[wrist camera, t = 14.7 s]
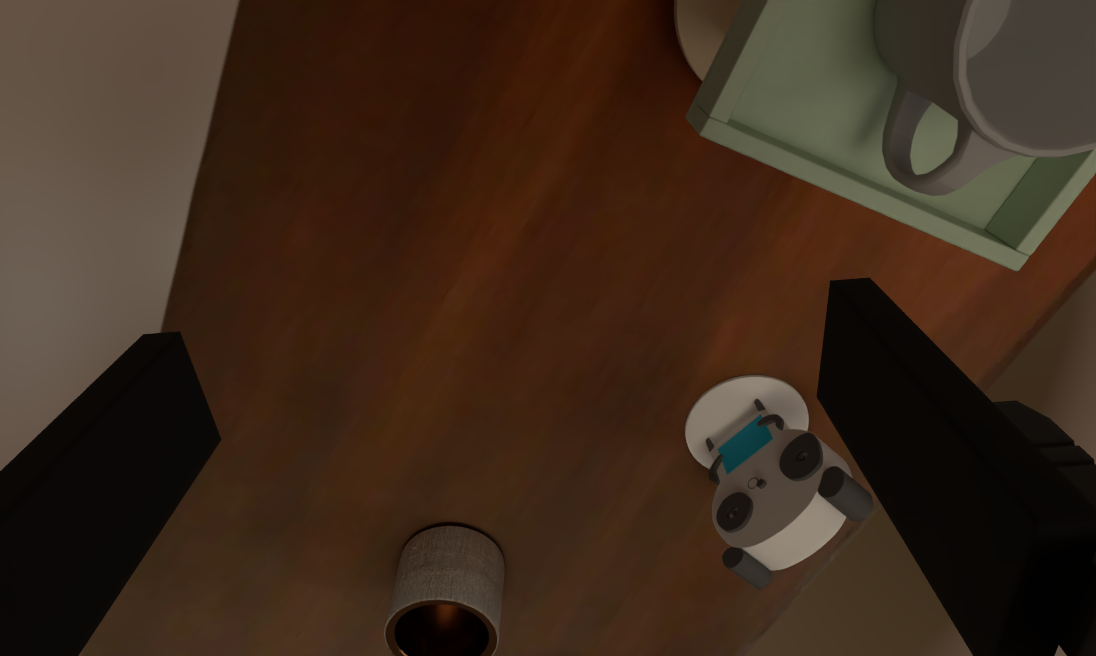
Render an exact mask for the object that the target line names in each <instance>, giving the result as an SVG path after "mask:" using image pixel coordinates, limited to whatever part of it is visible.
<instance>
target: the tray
mask: <svg viewBox="0 0 1096 656" xmlns="http://www.w3.org/2000/svg"><path fill="white" fill-rule="evenodd" d="M876 3H877V0H674V21H675V30H676V34H677V38H678V42H679V45H680V47H681V50H682V53H683V55H684V57H685V59H686V61H687V62H688V64H689V66H690V67H691V69H692V70H693V71H694V73H695V74H696V75H697V77H698V78H699V79H700V80H701V81H702V84H701V86H700V88H699V90H698V92H697V94H696V96H695V98H694V100H693V102H692V104H691V106H690V109H689V111H688V113H687V115H686V117H685V118H686V119H687V121H688V122H689V123H690V124H691V125H692V126H693V128H694V129H695V130H696V131H697V133H698V134H699V135H700V136H701V137H704V138H706V139H708V140H711V141H713V142H715V143H718V144H720V145H722V146H725V147H727V148H729V149H732V150H734V151H736V152H739V153H741V154H743V155H746V156H748V157H750V158H753V159H755V160H757V161H760V162H762V163H764V164H767V165H769V166H771V167H774V168H776V169H778V170H781V171H783V172H785V173H788V174H790V175H792V176H795V177H797V178H799V179H802V180H804V181H806V182H809V183H811V184H813V185H816V186H818V187H820V188H823V189H825V190H827V191H830V192H832V193H834V194H837V195H839V196H841V197H844V198H846V199H848V200H851V201H853V202H855V203H858V204H860V205H862V206H865V207H867V208H869V209H872V210H874V211H876V212H878V213H881V214H883V215H885V216H888V217H890V218H892V219H895V220H897V221H899V222H902V223H904V224H906V225H909V226H911V227H913V228H916V229H918V230H920V231H923V232H925V233H927V234H930V235H932V236H934V237H937V238H939V239H941V240H944V241H946V242H948V243H951V244H953V245H955V246H958V247H960V248H962V249H965V250H967V251H969V252H972V253H974V254H976V255H979V256H981V257H983V258H986V259H988V260H990V261H993V262H995V263H997V264H1000V265H1002V266H1004V267H1007V268H1009V269H1011V270H1014V271H1019V269H1020V268H1021V267H1022V266H1023V264H1024V263H1025V262H1026V261H1027V259H1028V258H1029V256H1028V255H1031V254H1032V253H1033V252H1034V250H1035V249H1036V248H1037V247H1038V245H1039V244H1040V243H1041V241H1042V240H1043V239H1044V238H1045V236H1046V235H1047V234H1048V233H1049V231H1050V230H1051V229H1052V228H1053V226H1054V225H1055V224H1056V223H1057V221H1058V220H1059V219H1060V217H1061V216H1062V215H1063V214H1064V212H1065V211H1066V210H1067V209H1068V207H1069V206H1070V205H1071V204H1072V202H1073V201H1074V200H1075V199H1076V197H1077V196H1078V195H1079V193H1080V192H1081V191H1082V190H1083V188H1084V187H1085V186H1086V185H1087V183H1088V182H1089V181H1090V180H1091V178H1092V177H1093V176H1094V175H1095V173H1096V149H1093V150H1089V151H1085V152H1080V153H1076V154H1072V155H1067V156H1063V157H1059V158H1050V157H1025V156H1022V155H1018V156H1015V157H1013V158H1010V159H1007V160H1005V161H1002V162H1000V163H998V164H996V165H994V166H992V167H991V168H989V169H987V170H985V171H983V172H981V173H980V174H979V175H977V176H976V177H975V178H974V179H973V180H972V181H970V182H969V183H967V184H966V185H964V186H963V187H961V188H960V189H958V190H956V191H953V192H951V193H949V194H947V195H938V196H930V195H926V194H923V193H919V192H915V191H913V190H911V189H909V188H907V187H905V186H904V185H902V184H901V183H899V182H897V181H896V180H895V179H893V177H892V176H891V174H890V173H889V171H888V170H887V168H886V166H885V162H884V157H883V153H882V140H883V131H884V127H885V123H886V119H887V115H888V112H889V108H890V105H891V102H892V99H893V96H894V93H895V89H896V86H897V75H896V72H895V71H893V70H892V69H891V68H890V67H889V66H888V64H887V63H886V61H885V60H884V59H883V57H882V56H881V54H880V53H879V49H878V46H877V43H876V40H875V36H874V13H875V8H876ZM957 128H958V120H957V119H955V118H954V117H953V116H951V115H950V114H948V113H947V112H945V111H944V110H943V109H941V108H940V107H939V106H937V105H936V104H934V103H932V104H931V105H930V107H929V108H928V109H927V110H926V111H925V113H924V115H923V116H922V118H921V120H920V122H919V123H918V125H917V128H916V131H915V134H914V137H913V140H912V147H911V154H910V158H911V164H912V170H913V171H914V173H915V174H916V175H920V174H926V173H928V172H930V171H932V170H934V169H935V168H937V167H938V166H939V165H941V164H942V163H943V162H944V161H945V160H946V159H947V158H948V157H949V156H950V155H951V154H952V153H953V150H954V146H955V142H956V139H957Z"/></svg>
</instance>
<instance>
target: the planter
mask: <svg viewBox="0 0 1096 656" xmlns="http://www.w3.org/2000/svg"><path fill="white" fill-rule="evenodd" d="M504 572H505V566H504V559H503V555H502V553H501V551H500V549H499V548H498V546H497V545H496V544H495V543H494V542H493V541H492V540H491V539H490V538H488V537H487V536H485V535H484V534H482V533H480V532H478V531H475V530H473V529H470V528H466V527H461V526H438V527H434V528H430V529H427V530H424V531H422V532H420V533H418V534H417V535H415V536H414V537H413V538H412V539H411V540H410V541H409V542H408V543H407V544H406V546H405V548H404V550H403V552H402V554H401V557H400V561H399V566H398V570H397V575H396V580H395V584H394V589H393V594H392V598H391V603H390V607H389V611H388V616H387V620H386V624H385V629H384V638H385V642H386V645H387V647H388V648H389V650H390V651H391V653H392V654H393V655H394V656H493V655H494V653H495V651H496V649H497V647H498V642H499V630H500V617H501V606H502V595H503V584H504Z"/></svg>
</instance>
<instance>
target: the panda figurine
mask: <svg viewBox="0 0 1096 656" xmlns="http://www.w3.org/2000/svg"><path fill="white" fill-rule="evenodd" d="M808 422H809V417H808V410H807V407H806V405H805V402H804V401H803V399H802V397H801V396H800V394H799V393H798V392H797V391H796V390H795V389H794V388H793V387H792V386H790V385H789V384H787V383H786V382H784V381H782V380H780V379H777V378H774V377H770V376H765V375H744V376H738V377H734V378H731V379H728V380H725V381H723V382H721V383H719V384H717V385H715V386H713V387H712V388H710V389H709V390H707V391H706V392H705V393H704V394H703V395H702V396H701V397H700V398H699V399H698V400H697V401H696V402H695V404H694V405H693V406H692V408H691V410H690V412H689V414H688V417H687V420H686V424H685V437H686V442H687V445H688V448H689V450H690V452H691V453H692V455H693V456H694V458H695V459H696V460H697V461H698V462H699V463H701V464H702V465H703V466H705V467H706V468H708V469H710V470H709V478H710V480H712V481H713V482H714V483H716V484H719V486H718V488H717V490H716V492H715V495H714V499H713V504H712V518H713V523H714V526H715V528H716V530H717V532H718V533H719V535H720V536H721V537H722V538H723V539H724V541H725V542H726V543H728V544H729V545H730V546H731V548H729V549H727V550H726V551H725V552H724V554H723V556H722V559H723V563H724V565H725V566H726V567H727V568H729V569H730V570H731V571H733V572H734V573H736V574H737V575H738V576H740V577H741V578H743V579H744V580H745V581H747V582H748V583H750V584H751V585H752V586H754V587H755V588H757V589H762V588H764V587H766V586H767V585H768V584H769V583H770V581H771V579H772V572H771V571H770V570H781V569H785V568H788V567H790V566H792V565H794V564H796V563H798V562H800V561H802V560H804V559H805V558H807V557H808V556H810V555H812V554H813V553H814V552H816V551H817V550H818V549H820V548H821V547H822V546H823V545H824V544H826V543H827V542H828V541H829V540H830V539H831V538H832V537H833V536H834V535H835V534H836V533H837V531H838V530H839V529H840V527H841V526H842V524H843V523H844V521H845V519H846V517H847V518H848V519H849V520H851V521H861V520H863V519H865V518H866V517H867V516H868V514H869V513H870V511H871V509H872V505H873V502H872V497H871V494H870V493H869V492H868V491H867V490H865V489H864V488H863V487H862V486H861V485H860V484H858V483H857V482H856V481H855V480H854V479H853V478H852V475H851V472H850V469H849V467H848V465H847V463H846V462H845V461H844V460H843V459H842V458H841V457H840V456H839V455H838V454H836V453H835V452H834V451H833V450H832V449H831V448H829V447H828V446H827V445H826V444H825V443H824V442H822V441H821V440H820V439H819V438H818V437H817V436H816V435H814V434H813V433H810V432H808V431H807V429H808ZM717 474H718V476H717ZM718 477H719V478H718Z"/></svg>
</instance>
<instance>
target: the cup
mask: <svg viewBox="0 0 1096 656" xmlns="http://www.w3.org/2000/svg"><path fill="white" fill-rule="evenodd" d="M874 36H875V40H876V43H877V46H878V49H879V53H880V54H881V56H882V57H883V59H884V60H885V61H886V63H887V64H888V66H889V67H890V68H891V69H892V70H893V71H895V72H896V75H897V86H896V89H895V93H894V96H893V99H892V102H891V105H890V108H889V112H888V115H887V119H886V123H885V127H884V131H883V140H882V153H883V157H884V162H885V166H886V168H887V170H888V171H889V173H890V174H891V176H892V177H893V179H895V180H896V181H897V182H899V183H901V184H902V185H904V186H905V187H907V188H909V189H911V190H913V191H915V192H919V193H923V194H926V195H930V196H938V195H947V194H949V193H951V192H953V191H956V190H958V189H960V188H961V187H963V186H964V185H966V184H967V183H969V182H970V181H972V180H973V179H974V178H975V177H976V176H977V175H979V174H980V173H981V172H983V171H985V170H987V169H989V168H991V167H992V166H994V165H996V164H998V163H1000V162H1002V161H1005V160H1007V159H1010V158H1013V157H1015V156H1018V155H1022V156H1025V157H1050V158H1059V157H1063V156H1067V155H1072V154H1076V153H1080V152H1085V151H1089V150H1093V149H1096V0H877V3H876V8H875V13H874ZM932 103H934V104H936V105H937V106H939V107H940V108H941V109H943V110H944V111H945V112H947V113H948V114H950V115H951V116H953V117H954V118H955V119H957V120H958V128H957V139H956V142H955V146H954V150H953V153H952V154H951V155H950V156H949V157H948V158H947V159H946V160H945V161H944V162H943V163H942V164H941V165H939V166H938V167H937V168H935V169H934V170H932V171H930V172H928V173H926V174H920V175H916V174H915V173H914V171H913V170H912V164H911V158H910V154H911V147H912V140H913V137H914V134H915V131H916V128H917V125H918V123H919V122H920V120H921V118H922V116H923V115H924V113H925V111H926V110H927V109H928V108H929V107H930V105H931V104H932Z"/></svg>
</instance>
